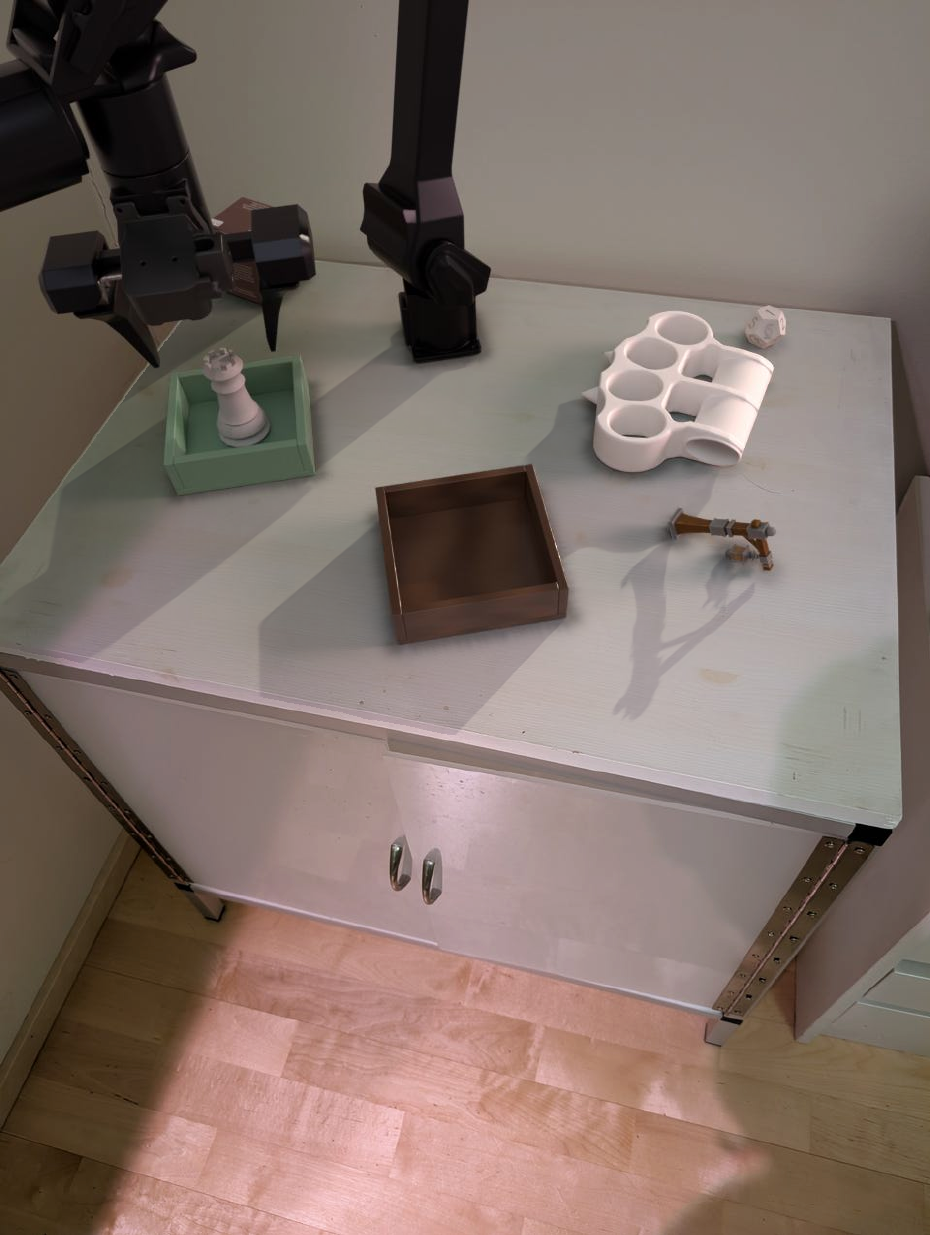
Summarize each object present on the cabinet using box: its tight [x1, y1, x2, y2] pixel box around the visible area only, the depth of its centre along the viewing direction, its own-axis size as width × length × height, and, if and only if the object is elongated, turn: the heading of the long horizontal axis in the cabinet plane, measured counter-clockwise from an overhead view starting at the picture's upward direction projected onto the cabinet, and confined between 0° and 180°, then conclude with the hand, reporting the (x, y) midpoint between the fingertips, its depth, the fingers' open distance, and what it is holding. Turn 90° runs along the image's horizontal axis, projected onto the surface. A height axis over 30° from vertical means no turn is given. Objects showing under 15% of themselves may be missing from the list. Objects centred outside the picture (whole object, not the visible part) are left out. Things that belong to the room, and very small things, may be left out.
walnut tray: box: [374, 463, 570, 645], centre depth 63 cm, size 12×12×4 cm
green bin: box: [162, 354, 316, 496], centre depth 72 cm, size 12×12×4 cm
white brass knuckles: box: [579, 310, 775, 473], centre depth 72 cm, size 3×18×15 cm
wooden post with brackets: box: [667, 506, 777, 572], centre depth 62 cm, size 2×8×4 cm, turn 55°
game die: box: [745, 304, 787, 349], centre depth 76 cm, size 4×4×3 cm
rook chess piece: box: [202, 347, 270, 448], centre depth 70 cm, size 4×4×8 cm
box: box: [211, 196, 274, 305], centre depth 84 cm, size 6×6×7 cm
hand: (215, 356), depth 66 cm, fingers open, 9 cm apart
